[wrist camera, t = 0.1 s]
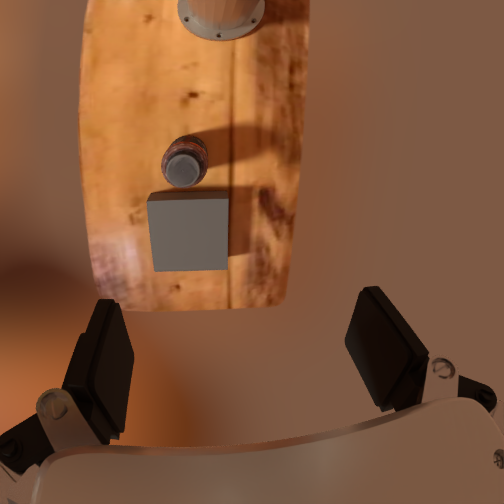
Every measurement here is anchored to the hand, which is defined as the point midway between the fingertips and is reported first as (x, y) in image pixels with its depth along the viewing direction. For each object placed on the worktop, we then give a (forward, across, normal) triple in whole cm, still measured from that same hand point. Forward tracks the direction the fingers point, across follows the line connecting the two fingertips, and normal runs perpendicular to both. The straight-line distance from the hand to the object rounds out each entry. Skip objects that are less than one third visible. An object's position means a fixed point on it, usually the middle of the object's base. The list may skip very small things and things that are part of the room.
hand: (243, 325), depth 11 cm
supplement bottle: (+37, +4, 0) cm, 37 cm away
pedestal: (+37, +4, +12) cm, 39 cm away
